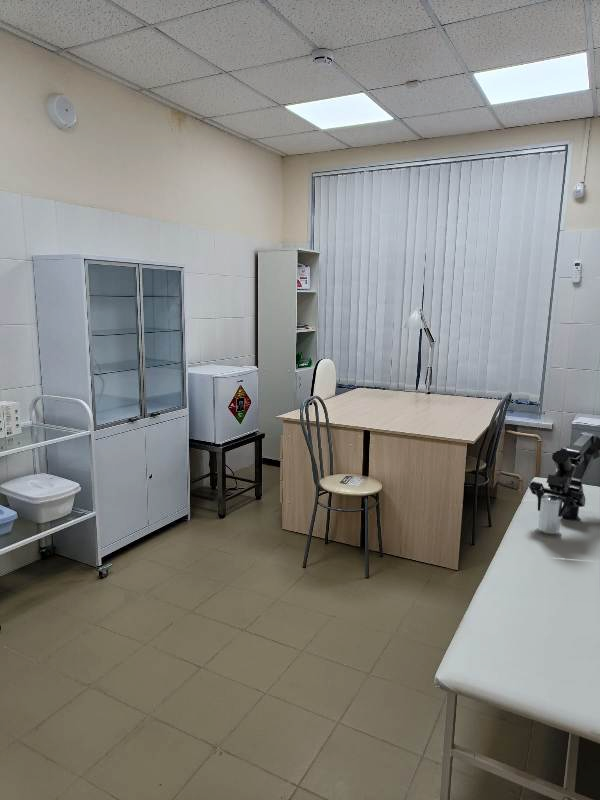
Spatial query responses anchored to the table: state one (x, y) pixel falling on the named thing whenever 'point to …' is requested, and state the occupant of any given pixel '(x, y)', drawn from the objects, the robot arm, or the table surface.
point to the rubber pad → (541, 533)
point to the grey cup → (550, 514)
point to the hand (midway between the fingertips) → (548, 513)
